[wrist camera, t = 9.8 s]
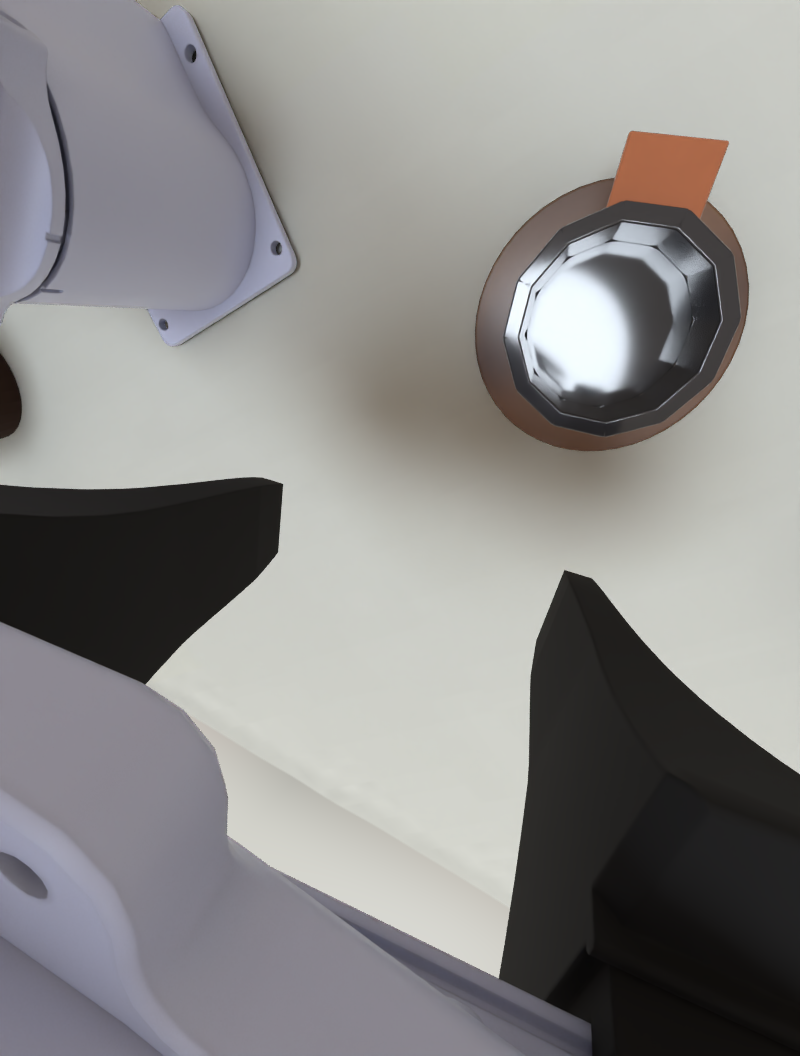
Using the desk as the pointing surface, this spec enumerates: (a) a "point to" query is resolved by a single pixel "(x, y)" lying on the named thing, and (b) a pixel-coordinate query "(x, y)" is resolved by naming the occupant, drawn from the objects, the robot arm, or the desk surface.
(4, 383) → the coffee mug
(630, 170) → the dark grey cup
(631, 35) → the desk surface
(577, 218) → the brown flat disc
